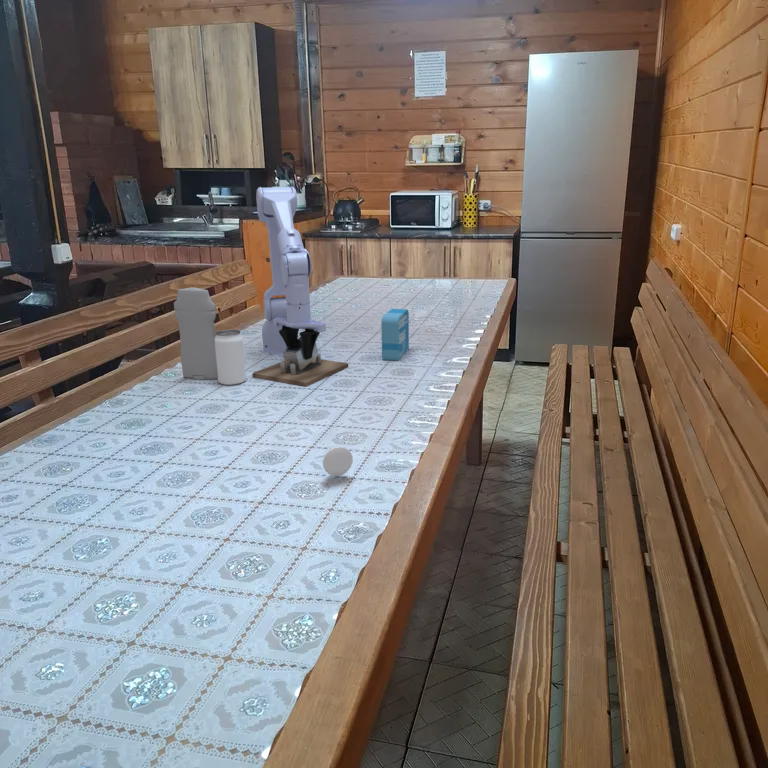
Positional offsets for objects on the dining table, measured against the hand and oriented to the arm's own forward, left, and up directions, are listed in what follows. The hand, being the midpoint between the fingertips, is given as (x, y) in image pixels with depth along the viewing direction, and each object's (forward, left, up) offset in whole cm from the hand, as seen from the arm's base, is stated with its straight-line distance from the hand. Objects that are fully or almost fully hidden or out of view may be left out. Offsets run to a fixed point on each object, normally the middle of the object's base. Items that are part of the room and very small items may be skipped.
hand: (300, 357), depth 166 cm
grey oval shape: (+40, -44, -4) cm, 60 cm away
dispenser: (-19, -15, -4) cm, 25 cm away
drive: (0, +1, -1) cm, 2 cm away
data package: (+14, +24, -4) cm, 27 cm away
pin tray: (0, 0, -4) cm, 4 cm away
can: (-10, -14, -4) cm, 18 cm away
